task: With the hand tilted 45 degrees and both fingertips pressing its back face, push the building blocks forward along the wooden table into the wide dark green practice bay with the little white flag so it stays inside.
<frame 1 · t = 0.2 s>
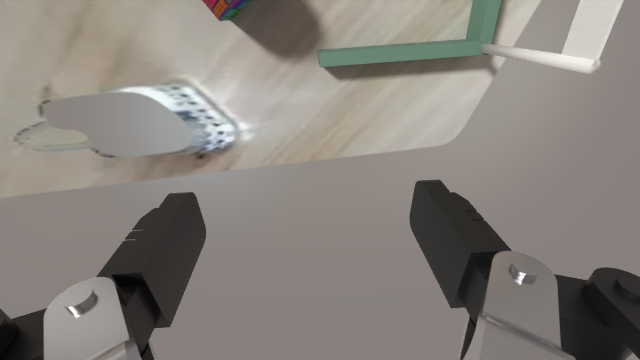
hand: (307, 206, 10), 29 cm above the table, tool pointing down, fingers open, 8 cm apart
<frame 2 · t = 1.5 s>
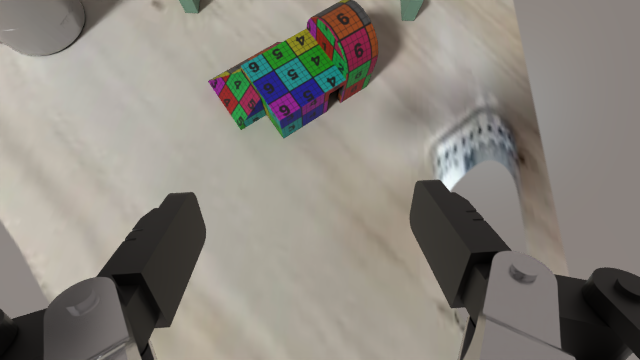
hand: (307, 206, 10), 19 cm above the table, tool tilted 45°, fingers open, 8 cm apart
building blocks: (289, 87, 33), on the table
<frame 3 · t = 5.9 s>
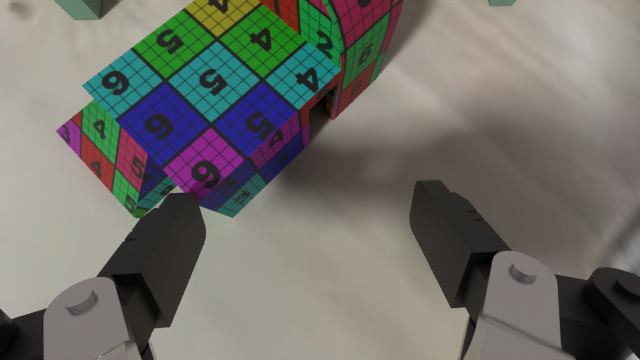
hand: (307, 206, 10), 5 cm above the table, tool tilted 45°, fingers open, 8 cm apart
building blocks: (228, 109, 17), on the table
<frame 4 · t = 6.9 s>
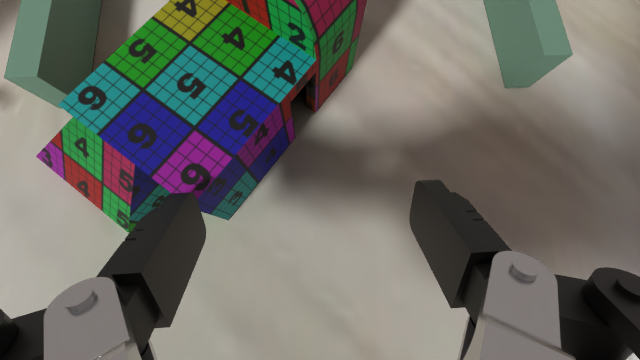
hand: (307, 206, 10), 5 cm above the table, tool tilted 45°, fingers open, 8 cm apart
building blocks: (210, 114, 17), on the table, touching gripper
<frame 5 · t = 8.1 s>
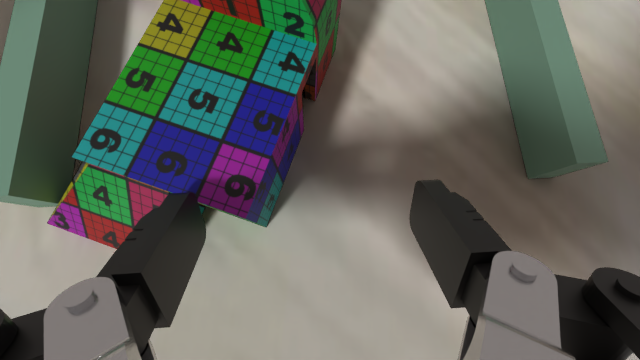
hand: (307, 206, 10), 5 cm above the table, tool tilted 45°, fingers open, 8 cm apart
building blocks: (212, 131, 16), on the table
practice bay: (297, 35, 17), on the table
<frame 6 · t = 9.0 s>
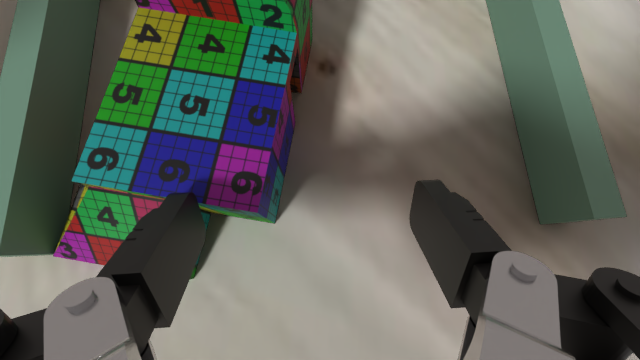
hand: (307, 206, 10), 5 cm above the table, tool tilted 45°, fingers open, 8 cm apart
building blocks: (204, 138, 16), on the table, touching gripper
practice bay: (300, 70, 17), on the table
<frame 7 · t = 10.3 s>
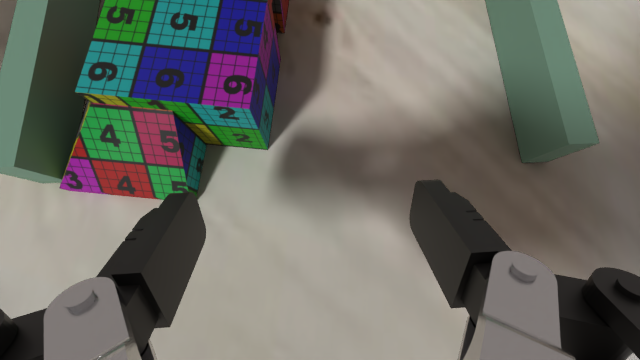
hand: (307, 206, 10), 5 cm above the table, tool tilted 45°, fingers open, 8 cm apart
building blocks: (195, 80, 17), on the table
practice bay: (298, 20, 18), on the table
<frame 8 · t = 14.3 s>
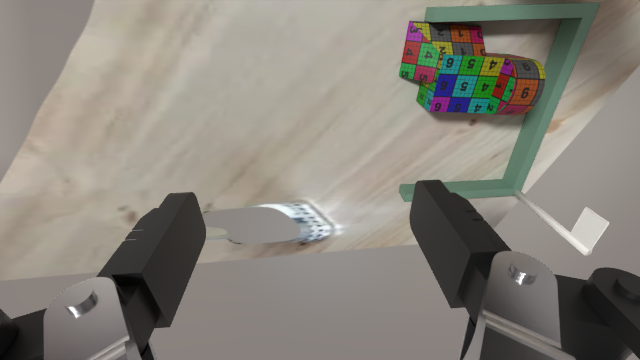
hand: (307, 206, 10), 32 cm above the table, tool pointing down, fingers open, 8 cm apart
building blocks: (452, 65, 39), on the table
practice bay: (474, 112, 43), on the table
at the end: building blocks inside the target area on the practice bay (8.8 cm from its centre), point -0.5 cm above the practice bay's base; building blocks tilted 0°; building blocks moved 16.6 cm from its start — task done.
